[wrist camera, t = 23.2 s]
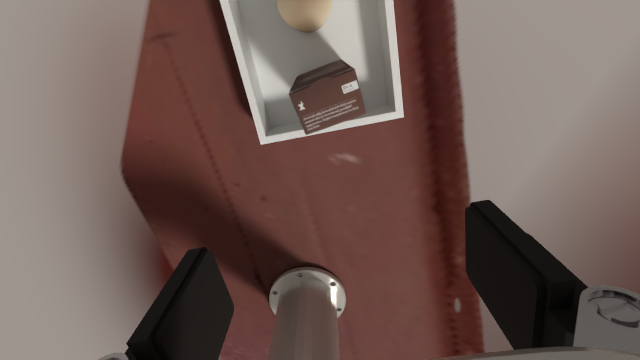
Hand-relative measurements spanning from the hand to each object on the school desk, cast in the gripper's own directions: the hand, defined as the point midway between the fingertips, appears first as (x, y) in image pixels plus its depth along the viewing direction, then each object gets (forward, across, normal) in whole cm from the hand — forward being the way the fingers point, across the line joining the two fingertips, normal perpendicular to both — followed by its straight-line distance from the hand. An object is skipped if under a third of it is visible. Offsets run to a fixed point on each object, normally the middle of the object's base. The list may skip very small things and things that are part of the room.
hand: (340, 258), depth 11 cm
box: (+30, 0, -3) cm, 30 cm away
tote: (+30, 0, -7) cm, 31 cm away
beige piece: (+30, 0, -11) cm, 32 cm away
